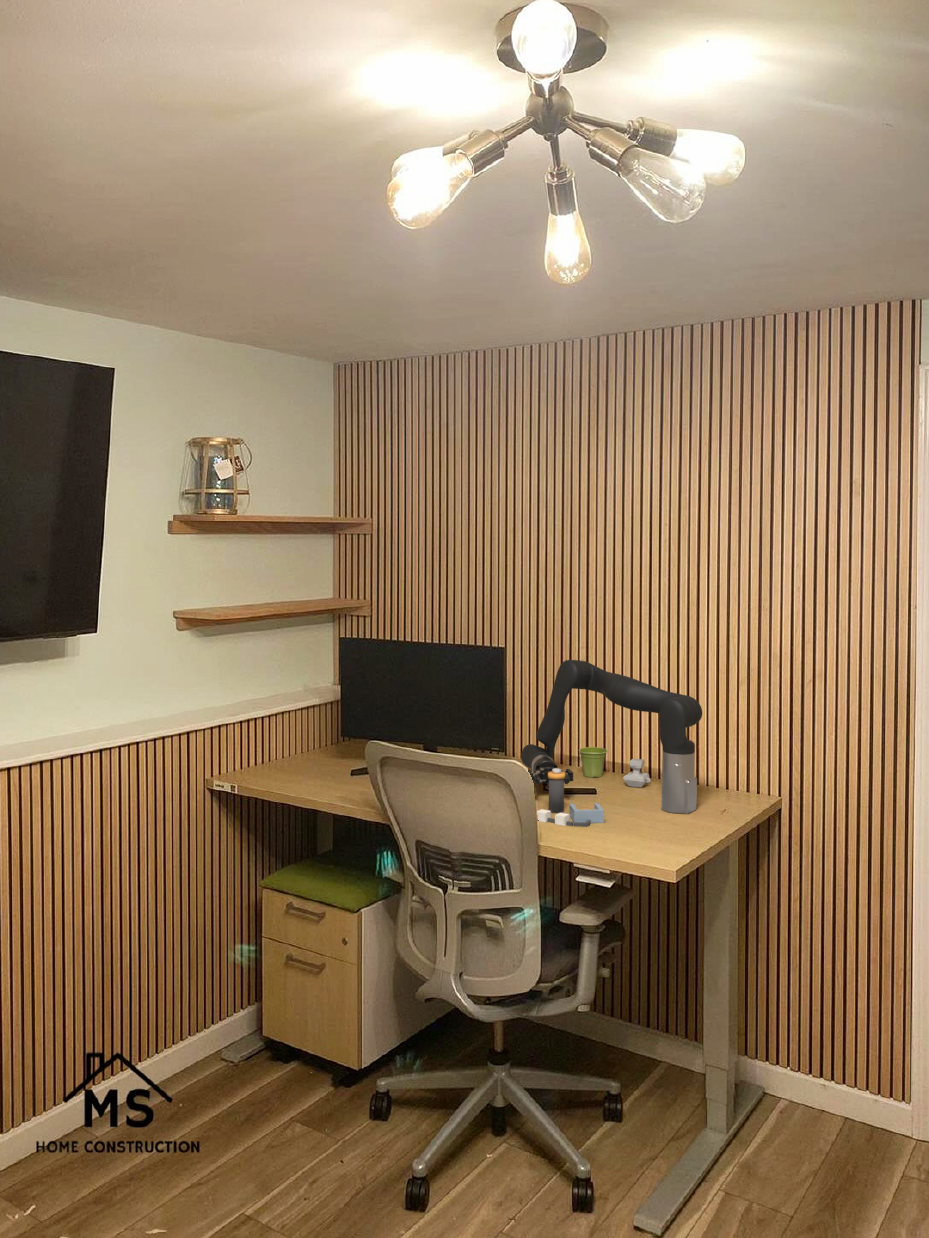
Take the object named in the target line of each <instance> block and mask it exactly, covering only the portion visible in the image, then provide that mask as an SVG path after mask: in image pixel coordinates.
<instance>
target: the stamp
mask: <svg viewBox="0 0 929 1238" xmlns="http://www.w3.org/2000/svg"><path fill="white" fill-rule="evenodd" d="M645 764H646V763H645V759H641V758H632V759H631V760H630V761H629V768H630V769H632V771H630V772H628V773H627V774H626V775H624V776H623V777H622V778H623V782H625V783H626V785H627V786H628V787H631V788H642V787H644V786H645V785H646V784H649V783H651V779H650V774H649V773H647V772H641V769H642V768H643V767H644V765H645Z"/></svg>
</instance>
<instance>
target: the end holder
mask: <svg viewBox="0 0 929 1238" xmlns="http://www.w3.org/2000/svg"><path fill="white" fill-rule="evenodd" d="M593 806H594V807H593V809H578V808H577V806H576V805H575V803H569V805H568V807H569V809H568V810H569V811H568V812H569V813H568V814H570V820H571V822H573V823H574V822H586V821H587V820H591V823H590V824H603V823H605V809H604V808H603V806H602V805H600V802H594V805H593Z"/></svg>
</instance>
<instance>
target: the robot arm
mask: <svg viewBox="0 0 929 1238" xmlns="http://www.w3.org/2000/svg"><path fill="white" fill-rule="evenodd" d="M573 689H576V690H586V691H591V692H592V691H593V692H595V693H599V694H601V695H603V696H604V697H605V698H606V699H607V700H608V701H610V702H611V703H612V704H615V705H617V706H620V707H622V708H624V709H625V708H626V709H628V710H633V711H637V712H646V713H653V714H654V713H655V714H658V715H659V716H658V718H659V719H658V720H659V739H660V743H661V746H662V756H661V757H662V760H661V761H662V763H661V764H662V765H661V766H662V767H661V769H662V772H661V810H663V811H665V812H666V813H667V812H668V813H672V814H686V815H688V814H691V813H693V812H694V811H696V810H697V797H698V796H697V795H698V794H697V792H698V789H697V788H698V778H697V777H696V776H695V759H696V758H695V757H696V754H695V753H696V744H695V742H694V741H692V740H690V739H688V738H687V728H691V727H693V726H695V725H697V724H698V723H699V722H700V721H701V719H702V717H703V709H702V705H701V704H700V702H699V701H698V700H697V699H695V698H694V697H692V696H690V695H685V694H681V693H678V692H677V693H676V692H672V691H668V690H663V689H661V688H659V687H657V686H654V685H652V684H649V683H647V682H643V681H641V680H638V679H635V678H632V677H630V676H626V675H624V674H619V673H615V672H609V671H607V670H604V669H602V668H600V667H598V666H596V665H595V664H592V663H590V662H588V661H585V660H580V659H579V660H578V659H566V660H564V661H563V662H561V663H560V665H559V666H558V670H557V672H556V675H555V679H554V682H553V687H552V690H551V693H550V697H549V702H548V705H547V708H546V710H545V713H544V716H543V717H542V720H541V722H540V725H539V726H538V729H537V731H536V734H535V737H536V740H538V742H540V743H541V744H543V745H544V746H545V747H546V748H544V747H541V746H538V745H535V744H532V743H530V744H526V745H525V746H524V747H523V748H522V750H521V754H520V758H521V759H520V760H521V763H522V764H523V765H524V766H526V767H527V768H528V772H529V773H530V775H531V777H532V780H533V781H532V783H534V784H536V786H539V785H540V783H542V784H544V785H545V784H546V785H549V778H548V772H551V771H552V769H553V768H559V767H558V764H556V762H555V760H554V754H555V747H556V746H557V741H558V738H559V737H560V734H561V732H562V730H563V727H564V725H565V722H566V721H565V719H566V717H565V716H566V710H565V707H566V701H567V698H568V696H569V695H570V693H571V691H572V690H573ZM530 769H531V770H530ZM561 772H564V773H565V778H564V785H568V784H569V783H570V782H574V772H573V771H572V770H571V769H570V768H566V769H565V770H564V771H563V770H562V769H561Z"/></svg>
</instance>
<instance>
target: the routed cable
mask: <svg viewBox="0 0 929 1238" xmlns="http://www.w3.org/2000/svg"><path fill="white" fill-rule="evenodd" d="M536 811H537V815H538V820H539V821H538V822H541V823H547V822H548V823H553V824H555V825H557V826H563V827H566V826H569V827H590V825H591V824H592V823H591V820H587V821H586V822H573V821H571V817H570V814H569V813H566V812H562V813H555V814H554V818H553V817H552V813H551V811H549V809H543V808H541V809H538V810H536Z"/></svg>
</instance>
